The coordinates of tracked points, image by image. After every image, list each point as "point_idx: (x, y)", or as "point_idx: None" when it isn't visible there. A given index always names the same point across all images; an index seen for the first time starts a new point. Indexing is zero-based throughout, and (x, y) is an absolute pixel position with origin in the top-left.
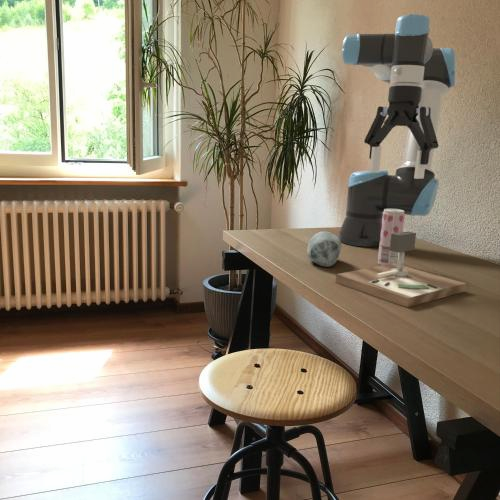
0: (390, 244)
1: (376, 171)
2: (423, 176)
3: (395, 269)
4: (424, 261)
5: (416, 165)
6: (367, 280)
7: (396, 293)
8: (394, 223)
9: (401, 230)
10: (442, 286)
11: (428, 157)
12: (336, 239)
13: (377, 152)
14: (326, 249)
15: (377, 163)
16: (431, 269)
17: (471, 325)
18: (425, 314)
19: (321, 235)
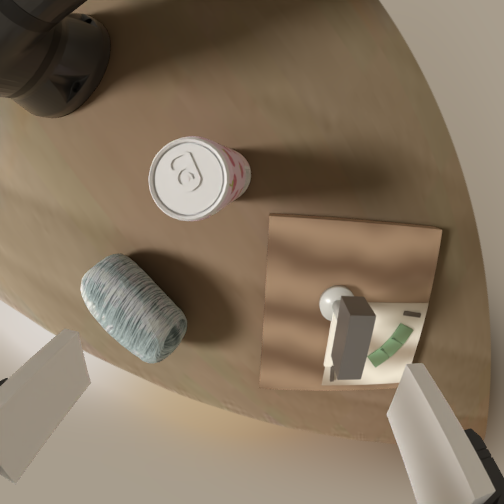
0: (333, 363)
1: (79, 355)
2: (425, 372)
3: (328, 305)
4: (255, 64)
5: (411, 465)
6: (316, 375)
7: (382, 386)
8: (225, 205)
9: (240, 173)
10: (422, 292)
11: (491, 462)
12: (155, 325)
13: (16, 435)
14: (172, 351)
15: (52, 380)
16: (311, 118)
17: (471, 359)
18: None
19: (128, 343)
